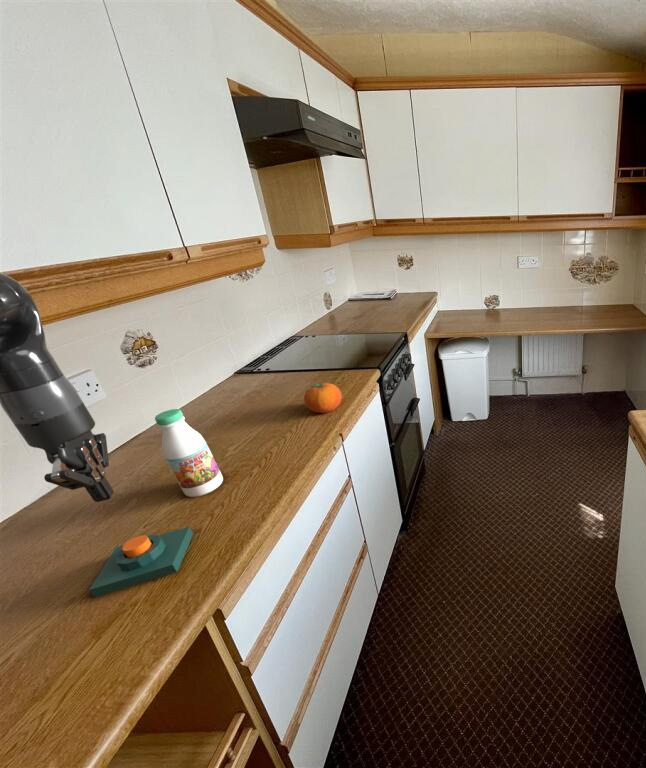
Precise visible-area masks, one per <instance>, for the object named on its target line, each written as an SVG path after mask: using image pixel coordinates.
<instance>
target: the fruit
mask: <svg viewBox="0 0 646 768" xmlns="http://www.w3.org/2000/svg"><path fill="white" fill-rule="evenodd" d="M342 399H343V395H342V392H341V390H340V388H339V387H338V386H337V385H335V384H333V383H331V382H324V383H317V384H314V385H312V386H310V387H309V388H308V390H307V389H306V392H305V393H304V395H303V400H304V404H305V406H306V407H307V408H308V410H309V411H311V412H313V413H317V414H327V413H330V412H332V411H334V410H335V409H337V408H338V407H339V406H340V404H341V402H342Z"/></svg>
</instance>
